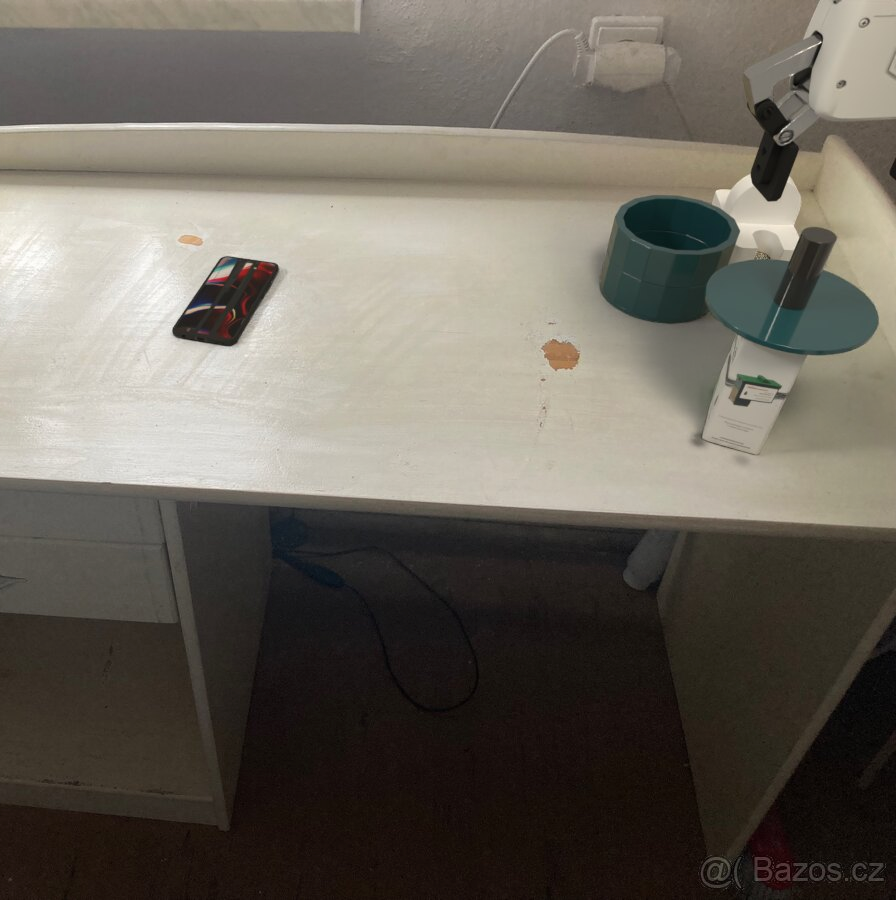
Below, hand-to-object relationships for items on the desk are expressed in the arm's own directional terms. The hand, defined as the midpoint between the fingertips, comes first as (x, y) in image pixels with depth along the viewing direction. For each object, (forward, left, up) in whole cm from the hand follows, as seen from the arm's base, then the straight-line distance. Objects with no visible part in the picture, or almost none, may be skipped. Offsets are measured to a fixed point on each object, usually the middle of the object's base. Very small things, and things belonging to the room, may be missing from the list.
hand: (834, 188), depth 60 cm
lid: (0, -3, -11) cm, 12 cm away
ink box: (0, -2, -23) cm, 23 cm away
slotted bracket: (+4, -34, -23) cm, 42 cm away
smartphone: (+51, +3, -23) cm, 56 cm away
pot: (+11, -19, -23) cm, 32 cm away
